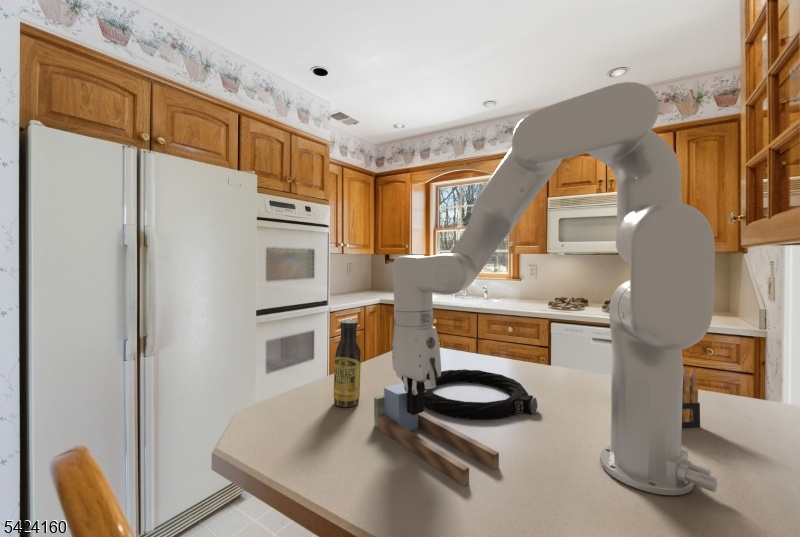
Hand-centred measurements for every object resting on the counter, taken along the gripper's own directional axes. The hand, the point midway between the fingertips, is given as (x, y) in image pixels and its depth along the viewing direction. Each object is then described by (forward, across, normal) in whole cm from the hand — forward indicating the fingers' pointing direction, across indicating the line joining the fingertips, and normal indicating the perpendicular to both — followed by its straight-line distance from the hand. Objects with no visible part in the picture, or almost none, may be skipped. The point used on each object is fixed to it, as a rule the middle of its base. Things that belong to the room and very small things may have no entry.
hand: (415, 412), depth 71 cm
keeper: (+5, +5, 0) cm, 7 cm away
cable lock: (+6, +6, -24) cm, 25 cm away
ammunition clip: (+6, -29, -44) cm, 54 cm away
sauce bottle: (+4, +22, +3) cm, 23 cm away
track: (+5, -5, 0) cm, 7 cm away
